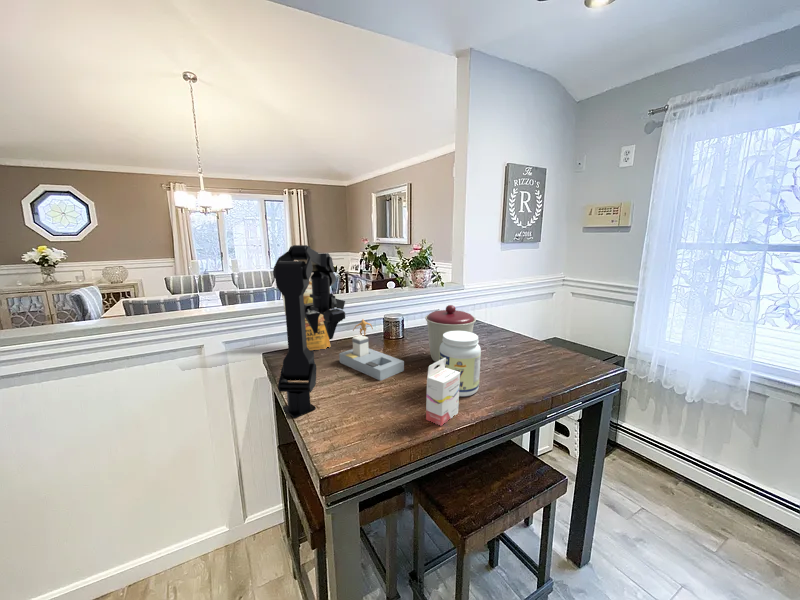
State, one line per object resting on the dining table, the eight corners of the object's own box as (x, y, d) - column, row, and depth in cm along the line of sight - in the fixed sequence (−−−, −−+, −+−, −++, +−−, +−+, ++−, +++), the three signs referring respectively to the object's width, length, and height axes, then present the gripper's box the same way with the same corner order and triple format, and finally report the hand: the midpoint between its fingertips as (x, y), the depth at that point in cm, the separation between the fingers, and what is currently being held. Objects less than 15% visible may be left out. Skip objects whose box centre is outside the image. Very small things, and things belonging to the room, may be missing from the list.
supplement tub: (431, 391, 100) (432, 337, 96) (448, 376, 110) (450, 327, 106) (469, 402, 93) (472, 345, 89) (484, 385, 103) (487, 333, 99)
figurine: (371, 343, 142) (370, 316, 140) (374, 347, 137) (374, 319, 134) (351, 345, 140) (351, 317, 137) (354, 350, 134) (353, 321, 131)
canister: (419, 367, 117) (420, 309, 113) (430, 350, 134) (431, 299, 129) (471, 373, 112) (474, 313, 107) (475, 354, 129) (478, 301, 124)
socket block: (403, 370, 114) (404, 360, 113) (380, 380, 106) (380, 369, 106) (362, 354, 129) (362, 345, 128) (339, 362, 121) (339, 352, 121)
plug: (368, 360, 121) (368, 337, 120) (360, 364, 118) (359, 340, 117) (361, 358, 124) (361, 335, 122) (353, 361, 121) (352, 337, 119)
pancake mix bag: (285, 349, 135) (279, 281, 129) (332, 343, 141) (329, 278, 136) (285, 355, 129) (280, 283, 123) (334, 348, 135) (331, 281, 130)
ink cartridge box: (442, 427, 81) (443, 371, 78) (425, 420, 84) (426, 366, 81) (459, 412, 88) (461, 360, 85) (443, 406, 91) (444, 356, 88)
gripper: (357, 291, 109) (359, 336, 113) (325, 285, 122) (327, 325, 125) (329, 296, 102) (331, 344, 105) (298, 288, 114) (300, 332, 117)
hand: (323, 335), depth 113 cm, fingers open, 9 cm apart
